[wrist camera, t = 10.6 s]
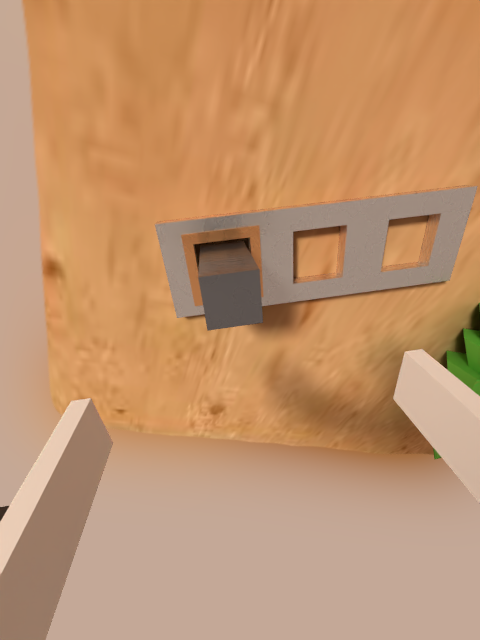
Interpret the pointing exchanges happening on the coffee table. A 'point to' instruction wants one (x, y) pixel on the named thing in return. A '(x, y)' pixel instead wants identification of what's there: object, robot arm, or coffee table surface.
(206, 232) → the grey board with holes
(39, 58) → the coffee table surface
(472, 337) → the decorative tree
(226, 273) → the rectangular block
